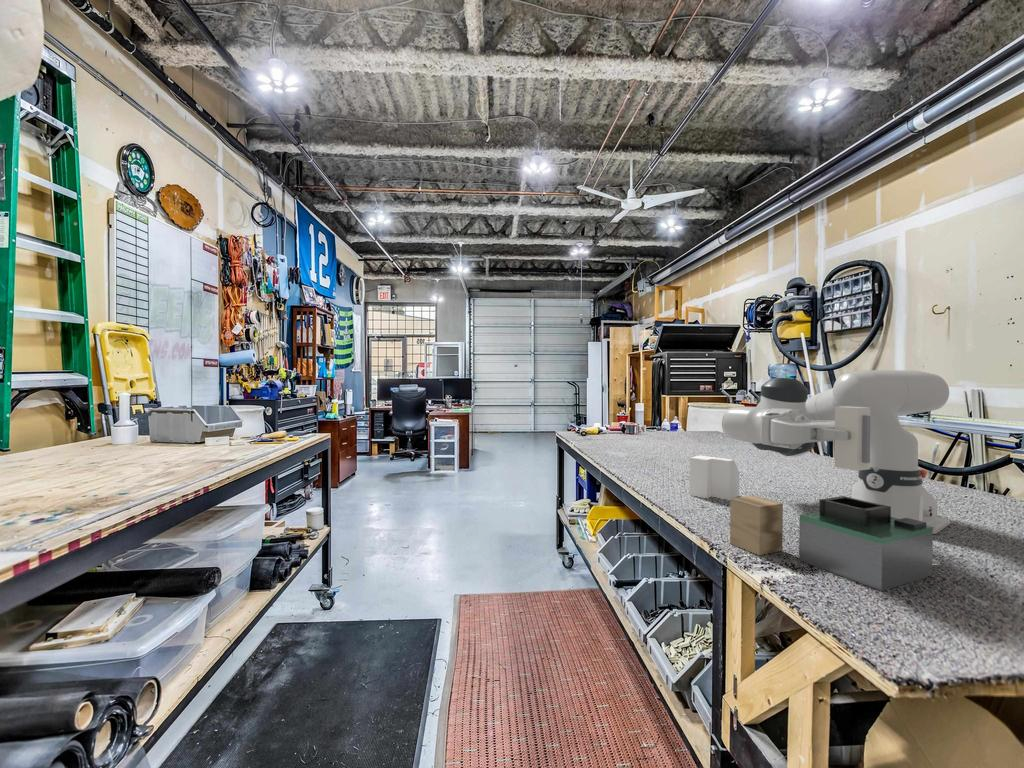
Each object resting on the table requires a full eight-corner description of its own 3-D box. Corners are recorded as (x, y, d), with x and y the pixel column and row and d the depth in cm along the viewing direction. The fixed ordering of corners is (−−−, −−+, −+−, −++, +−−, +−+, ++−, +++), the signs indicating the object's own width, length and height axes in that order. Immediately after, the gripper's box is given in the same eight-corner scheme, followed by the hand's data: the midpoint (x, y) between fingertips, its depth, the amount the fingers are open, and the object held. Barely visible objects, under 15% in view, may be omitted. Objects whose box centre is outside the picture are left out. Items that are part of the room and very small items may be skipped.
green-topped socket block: (848, 548, 92) (848, 492, 92) (932, 575, 80) (932, 510, 79) (799, 559, 86) (799, 500, 86) (881, 591, 73) (882, 520, 73)
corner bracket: (689, 495, 136) (690, 457, 136) (705, 489, 143) (705, 453, 143) (725, 502, 128) (725, 462, 128) (739, 496, 135) (739, 458, 135)
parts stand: (752, 539, 97) (752, 495, 97) (782, 550, 91) (782, 503, 91) (730, 543, 95) (730, 498, 95) (759, 555, 88) (759, 506, 88)
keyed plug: (846, 465, 87) (847, 406, 87) (874, 470, 83) (875, 407, 83) (834, 466, 86) (835, 406, 86) (861, 471, 81) (862, 408, 81)
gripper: (817, 440, 101) (888, 448, 88) (756, 444, 93) (824, 454, 80) (817, 413, 101) (888, 417, 88) (756, 415, 93) (824, 420, 80)
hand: (857, 435), depth 84 cm, fingers closed on keyed plug, 4 cm apart
